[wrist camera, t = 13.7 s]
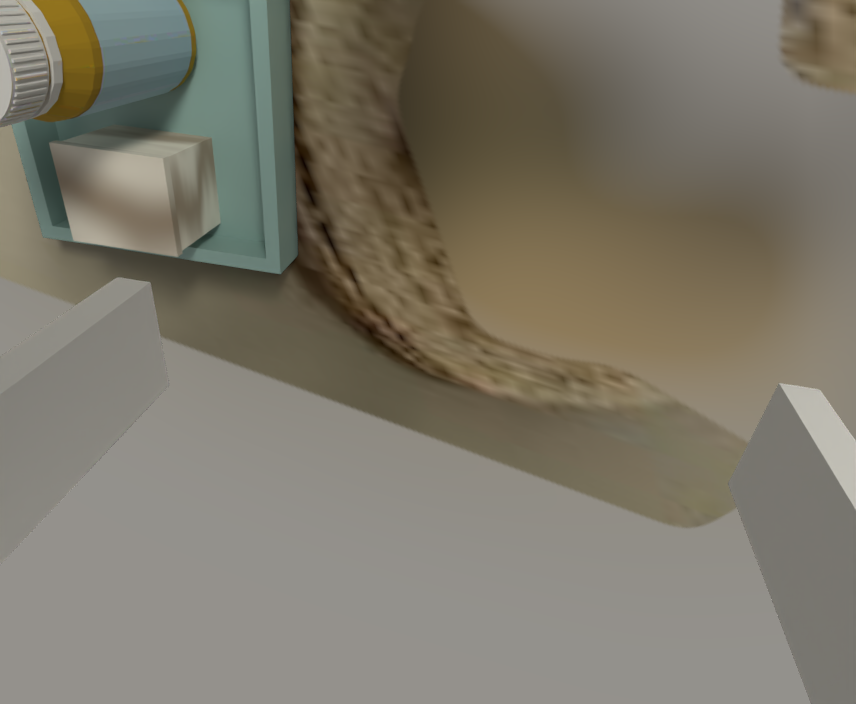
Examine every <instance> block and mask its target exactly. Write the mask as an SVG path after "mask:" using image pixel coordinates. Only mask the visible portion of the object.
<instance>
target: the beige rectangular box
mask: <svg viewBox="0 0 856 704" xmlns="http://www.w3.org/2000/svg"><path fill="white" fill-rule="evenodd" d="M49 145H50V149H51V153H52V157H53V161H54V165H55V169H56V173H57V177H58V181H59V185H60V189H61V193H62V197H63V201H64V205H65V209H66V213H67V217H68V221H69V225H70V229H71V233H72V237H73V241H79V242H85V243H92V244H98V245H105V246H111V247H117V248H124V249H130V250H137V251H143V252H150V253H156V254H162V255H169V256H175V257H178V256H180V255H181V254H182V251H183V250H184V249H185V248H187V247H188V246H189V245H191V244H192V243H194V242H195V241H196V240H198V239H199V238H201V237H202V236H203V235H205V234H206V233H207V232H209V231H210V230H212V229H213V228H214V227H216V226H217V225H218V224H220V223H221V221H220V212H219V202H218V193H217V183H216V174H215V164H214V155H213V146H212V137H204V136H197V135H189V134H182V133H174V132H167V131H160V130H152V129H145V128H137V127H130V126H123V125H115V124H114V125H111V126H108V127H105V128H102V129H98V130H95V131H92V132H89V133H86V134H82V135H79V136H76V137H73V138H70V139H67V140H63V141H57V140H55V141H52V142H49Z"/></svg>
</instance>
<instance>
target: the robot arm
mask: <svg viewBox="0 0 856 704" xmlns="http://www.w3.org/2000/svg"><path fill="white" fill-rule="evenodd" d="M168 386H169V380H168V375H167V369H166V365H165V358H164V353H163V348H162V342H161V337H160V331H159V326H158V320H157V315H156V310H155V304H154V299H153V293H152V288H151V282H146V281H139V280H133V279H127V278H121V277H117V278H115V279H114V280H112V281H111V282H109V283H108V284H106V285H105V286H103V287H102V288H100V289H99V290H97V291H96V292H94V293H93V294H92V295H90V296H89V297H87V298H86V299H84V300H83V301H81V302H80V303H78V304H77V305H75V306H74V307H72V308H71V309H69V310H68V311H66V312H65V313H63V314H62V315H60V316H59V317H58V318H56V319H55V320H53V321H52V322H50V323H49V324H47V325H46V326H44V327H43V328H41V329H40V330H38V331H37V332H35V333H34V334H33V335H31V336H30V337H28V338H27V339H25V340H24V341H22V342H21V343H19V344H18V345H16V346H15V347H13V348H12V349H10V350H9V351H8V352H6V353H4V354H3V355H2V356H0V565H1V564H2V563H3V561H4V560H5V559H6V558H7V557H8V556H9V555H10V554H11V553H12V552H13V551H14V550H15V549H16V548H17V547H18V545H19V544H20V543H21V542H22V541H23V540H24V539H25V538H26V537H27V536H28V535H29V534H30V533H31V532H32V531H33V530H34V529H35V527H36V526H37V525H38V524H39V523H40V522H41V521H42V520H43V519H44V518H45V517H46V516H47V515H48V514H49V513H50V511H51V510H52V509H53V508H54V507H55V506H56V505H57V504H58V503H59V502H60V501H61V500H62V499H63V498H64V497H65V496H66V495H67V493H68V492H69V491H70V490H71V489H72V488H73V487H74V486H75V485H76V484H77V483H78V482H79V481H80V480H81V479H82V478H83V476H84V475H85V474H86V473H87V472H88V471H89V470H90V469H91V468H92V467H93V466H94V465H95V464H96V463H97V462H98V460H100V458H101V457H102V456H103V455H104V454H105V453H106V452H107V451H108V450H109V449H110V448H111V447H112V446H113V445H114V444H115V443H116V441H117V440H118V439H119V438H120V437H121V436H122V435H123V434H124V433H125V432H126V431H127V430H128V429H129V428H130V427H131V425H132V424H133V423H134V422H135V421H136V420H137V419H138V418H139V417H140V416H141V415H142V414H143V413H144V412H145V411H146V410H147V408H148V407H149V406H150V405H151V404H152V403H153V402H154V401H155V400H156V399H157V398H158V397H159V396H160V395H161V394H162V393H163V392H164V390H165V389H166V388H167V387H168ZM728 485H729V488H730V491H731V493H732V496H733V499H734V501H735V504H736V507H737V509H738V512H739V515H740V517H741V520H742V522H743V525H744V527H745V530H746V533H747V536H748V538H749V541H750V544H751V546H752V549H753V552H754V554H755V557H756V559H757V562H758V565H759V567H760V570H761V572H762V575H763V578H764V580H765V583H766V586H767V589H768V591H769V594H770V596H771V599H772V602H773V604H774V607H775V610H776V612H777V615H778V618H779V620H780V623H781V626H782V628H783V631H784V634H785V636H786V639H787V641H788V644H789V647H790V649H791V652H792V655H793V657H794V660H795V663H796V665H797V668H798V671H799V673H800V676H801V678H802V681H803V683H804V686H805V689H806V692H807V694H808V697H809V700H810V702H811V704H856V441H855V439H854V438H853V437H852V435H851V434H850V432H849V431H848V429H847V428H846V427H845V425H844V424H843V422H842V421H841V420H840V418H839V417H838V415H837V414H836V412H835V411H834V410H833V408H832V406H831V405H830V404H829V402H828V401H827V399H826V398H825V397H824V395H823V394H822V392H821V391H820V390H819V389H813V388H807V387H801V386H795V385H788V384H782V383H779V384H778V386H777V388H776V390H775V392H774V394H773V396H772V398H771V400H770V402H769V404H768V406H767V408H766V410H765V412H764V414H763V416H762V418H761V420H760V422H759V424H758V425H757V427H756V429H755V431H754V433H753V435H752V438H751V439H750V441H749V443H748V445H747V447H746V449H745V451H744V453H743V455H742V457H741V459H740V461H739V463H738V465H737V467H736V469H735V471H734V473H733V475H732V477H731V479H730V481H729V483H728Z"/></svg>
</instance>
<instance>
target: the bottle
mask: <svg viewBox="0 0 856 704" xmlns="http://www.w3.org/2000/svg"><path fill="white" fill-rule="evenodd" d="M195 57H196V35H195V30H194V26H193V23H192V20H191V17H190V14H189V12H188V10H187V8H186V6H185V4H184V3H183V1H182V0H0V127H3V126H7V125H11V124H15V123H19V122H22V121H25V120H29V119H35V120H40V121H45V122H56V121H62V120H67V119H73V118H77V117H81V116H84V115H88V114H92V113H95V112H99V111H103V110H106V109H110V108H114V107H117V106H121V105H125V104H128V103H132V102H135V101H139V100H143V99H146V98H150V97H154V96H157V95H161V94H165V93H167V92H170V91H172V90H174V89H176V88H177V87H179V86H180V85H182V84H183V83H184V82H185V81H186V79H187V77H188V76H189V74H190V73H191V71H192V69H193V66H194V61H195Z"/></svg>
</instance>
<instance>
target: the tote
mask: <svg viewBox="0 0 856 704" xmlns="http://www.w3.org/2000/svg"><path fill="white" fill-rule="evenodd" d="M182 1H183V3H184V4H185V6H186V8H187V10H188V12H189V14H190V17H191V20H192V23H193V26H194V30H195V35H196V57H195V61H194V66H193V69H192V71H191V73H190V74H189V76H188V77H187V79H186V81H185V82H184V83H183V84H182V85H180V86H179V87H177V88H176V89H174V90H172V91H170V92H167V93H165V94H161V95H157V96H154V97H150V98H146V99H143V100H139V101H135V102H132V103H128V104H125V105H121V106H117V107H114V108H110V109H106V110H103V111H99V112H95V113H92V114H88V115H84V116H81V117H77V118H73V119H67V120H62V121H56V122H45V121H40V120H35V119H29V120H25V121H22V122H19V123H15V124H11V125H12V128H13V132H14V135H15V139H16V142H17V146H18V150H19V153H20V157H21V160H22V164H23V167H24V171H25V175H26V178H27V182H28V185H29V189H30V192H31V196H32V200H33V203H34V207H35V210H36V214H37V217H38V221H39V224H40V228H41V232H42V235H43V237H44V238H51V239H57V240H64V241H70V242H77V243H83V244H89V245H96V246H102V247H109V248H115V249H122V250H128V251H134V252H141V253H147V254H154V255H160V256H167V257H173V258H179V259H186V260H192V261H199V262H205V263H212V264H218V265H224V266H231V267H237V268H244V269H250V270H257V271H263V272H270V273H276V274H281V273H282V272H283V271H284V270H285V269H286V268H287V267H288V266H289V265H290V263H291V262H292V261H293V260H294V259H295V258H296V257H297V256H298V238H297V208H296V178H295V148H294V118H293V88H292V58H291V28H290V0H182ZM114 124H115V125H123V126H130V127H137V128H145V129H152V130H160V131H167V132H174V133H182V134H189V135H197V136H204V137H212V146H213V155H214V164H215V174H216V183H217V193H218V202H219V212H220V221H221V223H220V224H218V225H217V226H216V227H214V228H213V229H212V230H210V231H209V232H207V233H206V234H205V235H203V236H202V237H201V238H199V239H198V240H196V241H195V242H194V243H192V244H191V245H189V246H188V247H187V248H185V249H184V250H183V251H182V254H181V255H180V256H178V257H175V256H169V255H162V254H156V253H150V252H143V251H137V250H130V249H124V248H117V247H111V246H105V245H98V244H92V243H85V242H79V241H73V237H72V233H71V229H70V225H69V221H68V217H67V213H66V209H65V205H64V201H63V197H62V193H61V189H60V185H59V181H58V177H57V173H56V169H55V165H54V161H53V157H52V153H51V149H50V145H49V142H52V141H55V140H57V141H63V140H67V139H70V138H73V137H76V136H79V135H82V134H86V133H89V132H92V131H95V130H98V129H102V128H105V127H108V126H111V125H114Z"/></svg>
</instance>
